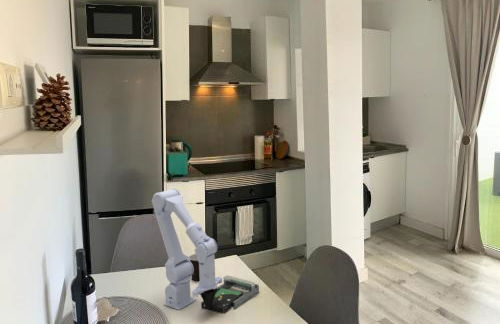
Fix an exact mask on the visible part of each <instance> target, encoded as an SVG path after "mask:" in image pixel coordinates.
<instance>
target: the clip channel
mask: <svg viewBox="0 0 500 324" xmlns="http://www.w3.org/2000/svg"><path fill="white" fill-rule="evenodd" d="M222 280H223V284H222V283H221V285H219V286H217V290H220V289H222V288H224V289H231V287H234V288H238V289H241V290H245V291H247V292H246V293H243V295H242V296H241V297H239V298H238V299H236V300H235V301H233V302H232V304H233V307H232V309H234V310H236V309H237V308H238V307H240V306H241V305H243V304H244V303H246V302H247V301H248V300H250V299H252V298H253V297H254V296H256V295H257V294H259V293H260V286H259V284H257V283H255V282H254V281H252V280H247V279H243V278H239V277H235V276H231V275H227V274H226V275H225V276H223V277H222Z"/></svg>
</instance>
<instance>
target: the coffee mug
mask: <svg viewBox="0 0 500 324" xmlns="http://www.w3.org/2000/svg"><path fill="white" fill-rule="evenodd" d="M188 257H189V260H190V262H191V263H192V265H193V268H194V272H193V274H192V275H191V280H192V281H193V282H199V283H200V276H199V262H198V258H197V255H196V253H194V254H190V255H189V256H188Z"/></svg>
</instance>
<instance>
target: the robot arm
mask: <svg viewBox="0 0 500 324" xmlns="http://www.w3.org/2000/svg"><path fill="white" fill-rule="evenodd" d="M183 198H184V197H183V196H182V194H181V192H180V191H179V190H178V189H176V188H171V189H168V190H164V191H160V192H155V193H154V194H153V196H152V199H151V204H152V207H153V211H154V215H155V217H156V220H157V224H158V228H159V231H160V234H161V236H162V240H163V244H164V246H165V250H166V253H167V257H168V259H167V261H166V263H165V264H164V267H165V276H166V279H167V280H168V282H169V284H168V285H166V286H165V289H164V293H165V294H164V295H165V303H164V306H166V307H169V308H172V309H175V310H178V311H179V310H182V309H184V308H185V307H186V306H188V305H190V304H192V303H194V302H195V301H196V298H197V297H199V296H200V297H201V298H202V302H203V301H204V304H205V307H206V308H207V309H211V308H212V304H213V300H214V297H215V294H216V292H217V287H218V285H219V284H222V283H223V277H220V276H217V277H216V265H215V264H216V260H215V259H216V257H215V254H216V253H217V251H218V243H217V242H216V240H215V239H214V238H211V237H210V236H208V235H207V233H206V232H205V230H204V229H203V227H202V225H201V224H199V223H198V222H194V219H193V218H192V215H190V213H189V211H188V209H187V208H186V205H185V204H184V202H183V201H184V200H183ZM172 213H174V214H175V215H176V217H177V218H178V219H179V220H180V222H181V223H182V225H183V226H185V233H186V235H187V237H188V239H190V241H191V242H192V244H193V245H194V247H195V249H194V254H196V255H197V258H198V262H199V276H200V282H199V284H198V285H197V286H196V287H195V288H194V289H193V290H192V297H191V279H192V277H191V275H192V274H193V272H194V268H193V265H192V263H191V262H190V260H189V256H188V255H186V254H184V253H183V250H182V247H181V245H180V241H179V238H178V235H177V231H176V228H175V225H174V223H173V218H172ZM193 297H195V298H193Z"/></svg>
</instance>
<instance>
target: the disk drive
mask: <svg viewBox="0 0 500 324" xmlns="http://www.w3.org/2000/svg"><path fill="white" fill-rule="evenodd" d="M242 295H244V291H241V290H235V289H230V288H228V289H224V288H222V289H220V290H217V292H216V294H215V297H214V300H213V304H212V308H211V309H207V308H206V307H205V304H204V301H203V300H202V301H201V304H200V305H201V309H202V310H207V311H211V312H215V313H220V314H226V313H227V312H229V310H230V309H232V308H233V304H232V302H233V301H235V300H236V299H238V298H239V297H241V296H242Z"/></svg>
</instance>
